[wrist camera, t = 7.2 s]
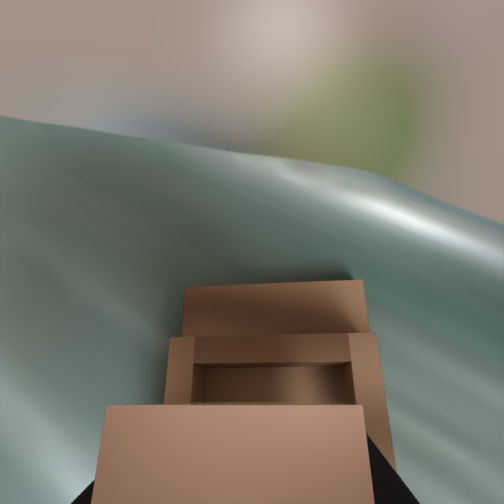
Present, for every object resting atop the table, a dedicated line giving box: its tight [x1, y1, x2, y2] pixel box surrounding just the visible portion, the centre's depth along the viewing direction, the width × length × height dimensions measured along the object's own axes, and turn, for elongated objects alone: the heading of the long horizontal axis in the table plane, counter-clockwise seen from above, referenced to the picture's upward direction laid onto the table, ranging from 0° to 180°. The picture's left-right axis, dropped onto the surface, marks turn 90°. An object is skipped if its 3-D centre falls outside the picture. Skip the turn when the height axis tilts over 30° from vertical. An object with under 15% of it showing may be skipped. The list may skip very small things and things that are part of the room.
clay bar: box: [91, 402, 375, 504], centre depth 9 cm, size 4×4×10 cm
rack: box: [164, 280, 397, 472], centre depth 14 cm, size 20×10×4 cm, turn 0°
